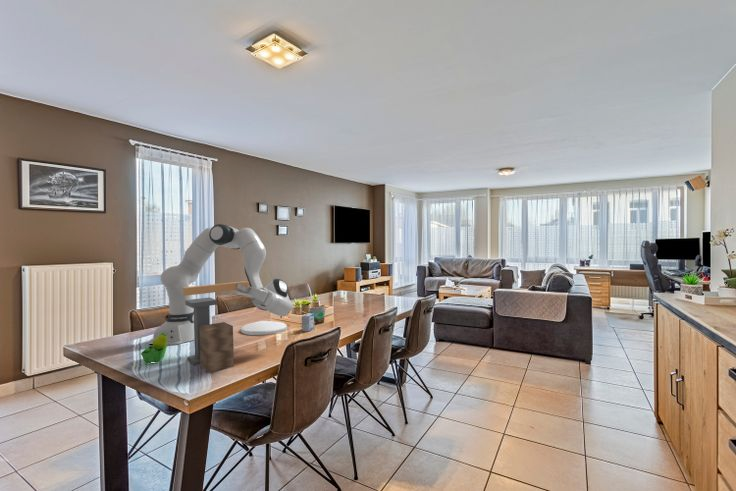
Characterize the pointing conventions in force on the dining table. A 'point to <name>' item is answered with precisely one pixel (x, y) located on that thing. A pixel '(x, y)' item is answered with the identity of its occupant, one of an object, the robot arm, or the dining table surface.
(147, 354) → the fruit basket
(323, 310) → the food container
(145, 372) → the dining table surface
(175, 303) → the robot arm
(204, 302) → the stand
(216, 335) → the pedestal
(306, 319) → the medicine box
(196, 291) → the bar
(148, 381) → the dining table surface
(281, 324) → the decorative plate
